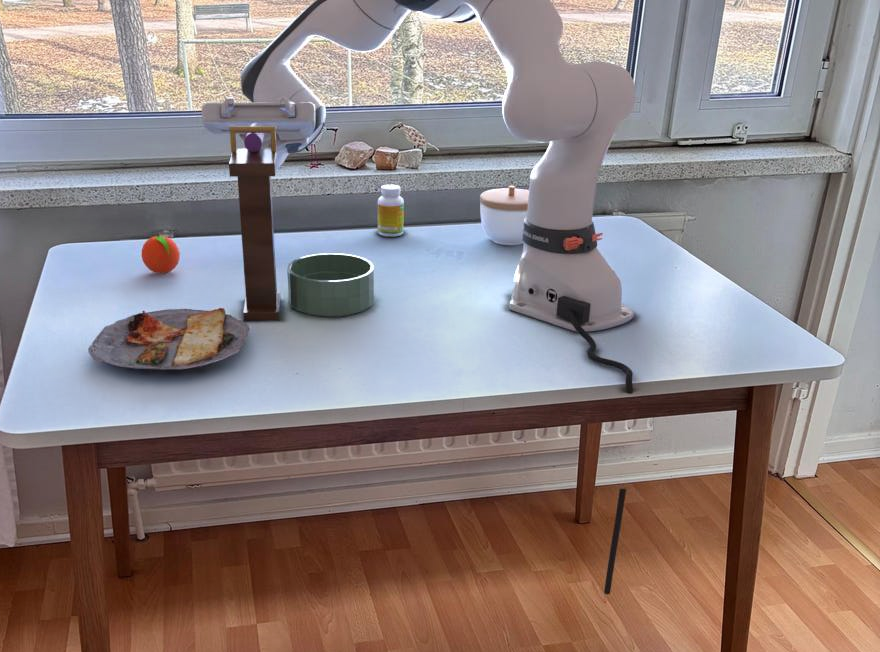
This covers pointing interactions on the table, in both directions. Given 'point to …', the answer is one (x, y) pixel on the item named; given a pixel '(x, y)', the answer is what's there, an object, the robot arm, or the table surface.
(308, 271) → the bowl
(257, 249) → the stand
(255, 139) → the glue stick
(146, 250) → the clementine
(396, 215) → the supplement bottle
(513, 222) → the lidded bowl
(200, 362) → the food plate
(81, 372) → the table surface
